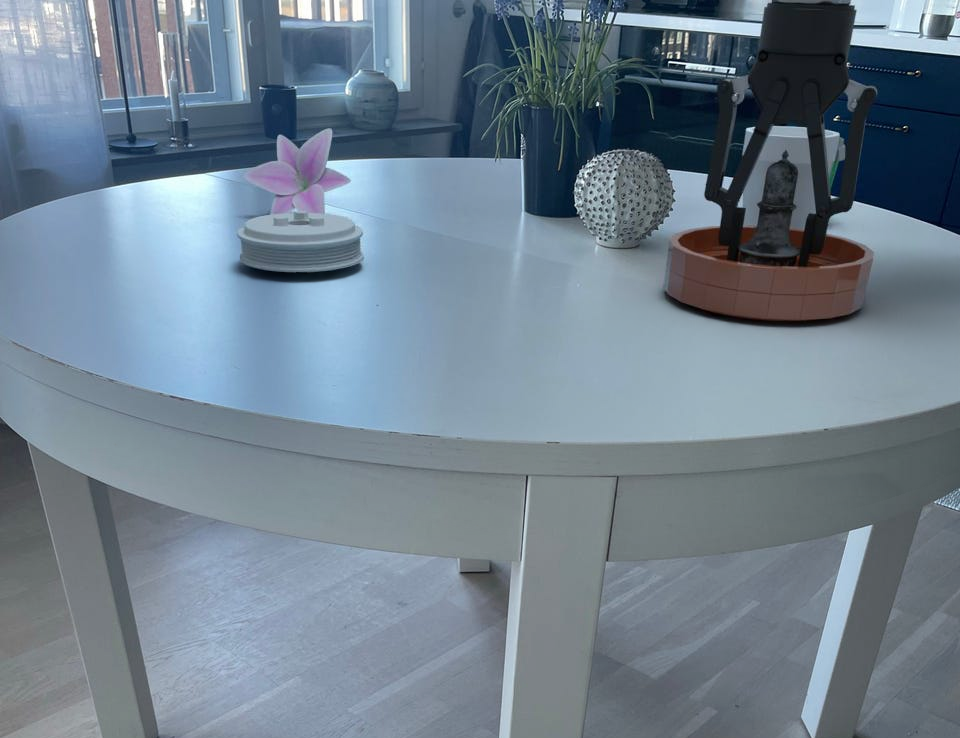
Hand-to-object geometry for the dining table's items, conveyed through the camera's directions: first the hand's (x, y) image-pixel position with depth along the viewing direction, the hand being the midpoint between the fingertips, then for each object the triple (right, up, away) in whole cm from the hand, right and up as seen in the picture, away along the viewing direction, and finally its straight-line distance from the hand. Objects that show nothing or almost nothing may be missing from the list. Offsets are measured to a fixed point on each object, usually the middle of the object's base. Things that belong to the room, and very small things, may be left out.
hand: (763, 284), depth 97 cm
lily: (-49, +18, +29) cm, 60 cm away
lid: (-46, +5, +8) cm, 47 cm away
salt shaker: (0, 0, 0) cm, 0 cm away
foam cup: (+5, +7, +14) cm, 16 cm away
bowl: (0, -1, +1) cm, 1 cm away
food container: (+14, +21, +35) cm, 43 cm away
